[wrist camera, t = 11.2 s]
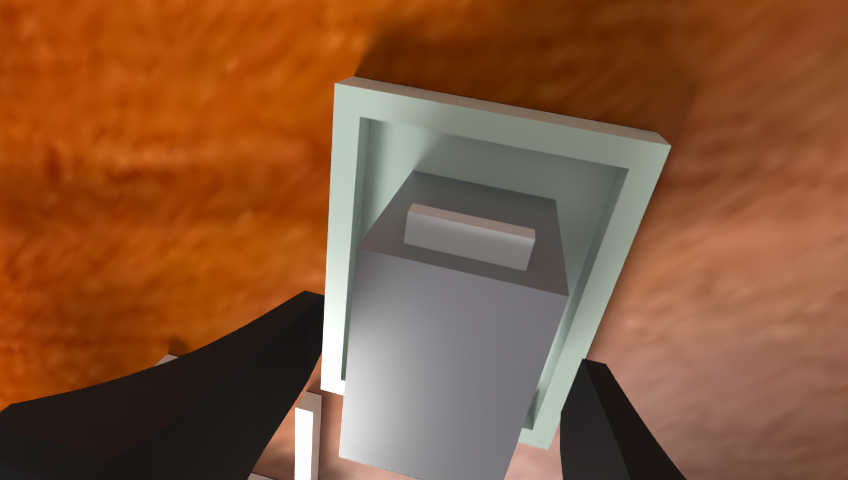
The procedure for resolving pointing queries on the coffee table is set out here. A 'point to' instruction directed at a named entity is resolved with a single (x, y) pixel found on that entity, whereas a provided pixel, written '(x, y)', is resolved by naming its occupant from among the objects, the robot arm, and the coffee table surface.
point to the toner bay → (299, 435)
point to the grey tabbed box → (450, 328)
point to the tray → (498, 167)
